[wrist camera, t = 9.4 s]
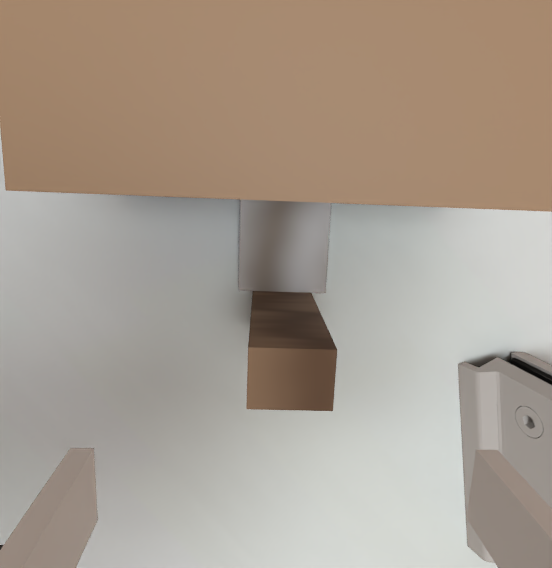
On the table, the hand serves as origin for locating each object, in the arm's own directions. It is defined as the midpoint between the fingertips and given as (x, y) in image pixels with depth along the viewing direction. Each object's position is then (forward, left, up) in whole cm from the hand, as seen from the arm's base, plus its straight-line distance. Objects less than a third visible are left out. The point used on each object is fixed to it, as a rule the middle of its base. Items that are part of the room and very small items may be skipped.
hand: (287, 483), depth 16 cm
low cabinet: (0, +14, -18) cm, 23 cm away
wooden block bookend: (0, +10, -18) cm, 20 cm away
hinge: (+19, -10, -18) cm, 28 cm away
